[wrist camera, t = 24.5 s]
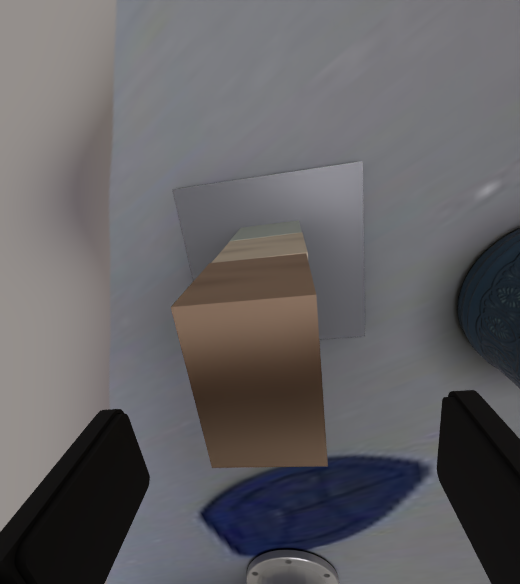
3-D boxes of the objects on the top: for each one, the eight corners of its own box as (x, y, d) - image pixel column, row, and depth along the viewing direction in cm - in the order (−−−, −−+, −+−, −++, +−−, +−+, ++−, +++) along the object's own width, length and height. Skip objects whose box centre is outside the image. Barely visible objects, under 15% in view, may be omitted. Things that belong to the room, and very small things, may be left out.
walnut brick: (315, 381, 16) (327, 466, 11) (233, 384, 16) (212, 467, 12) (306, 253, 13) (316, 294, 9) (209, 263, 14) (170, 307, 9)
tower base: (361, 329, 27) (382, 371, 21) (211, 341, 29) (192, 383, 23) (358, 161, 22) (384, 157, 16) (177, 188, 24) (142, 193, 18)
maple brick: (311, 333, 20) (318, 380, 16) (247, 338, 21) (235, 385, 16) (302, 232, 18) (307, 252, 13) (229, 241, 19) (210, 263, 14)
